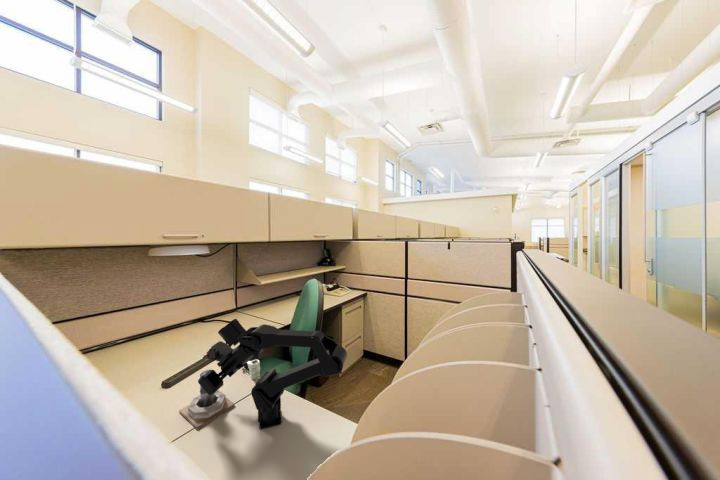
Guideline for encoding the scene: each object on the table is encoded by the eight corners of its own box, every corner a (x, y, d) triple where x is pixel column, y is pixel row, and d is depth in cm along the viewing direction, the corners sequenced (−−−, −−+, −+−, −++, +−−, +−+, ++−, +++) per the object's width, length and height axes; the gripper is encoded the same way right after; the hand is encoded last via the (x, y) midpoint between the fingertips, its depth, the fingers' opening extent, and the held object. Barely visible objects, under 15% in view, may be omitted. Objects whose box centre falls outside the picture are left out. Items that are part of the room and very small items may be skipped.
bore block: (234, 405, 88) (234, 397, 88) (197, 429, 78) (197, 420, 78) (216, 392, 94) (215, 384, 94) (179, 412, 84) (179, 404, 84)
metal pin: (214, 401, 89) (213, 368, 88) (214, 408, 85) (213, 374, 84) (201, 405, 87) (200, 371, 86) (200, 413, 83) (199, 378, 82)
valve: (265, 376, 105) (254, 363, 114) (264, 361, 104) (253, 349, 113) (248, 383, 100) (238, 369, 109) (248, 367, 100) (238, 354, 108)
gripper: (242, 324, 92) (215, 351, 95) (202, 351, 74) (171, 382, 76) (262, 347, 91) (235, 373, 94) (228, 380, 73) (195, 411, 76)
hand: (211, 383), depth 85 cm, fingers open, 9 cm apart
